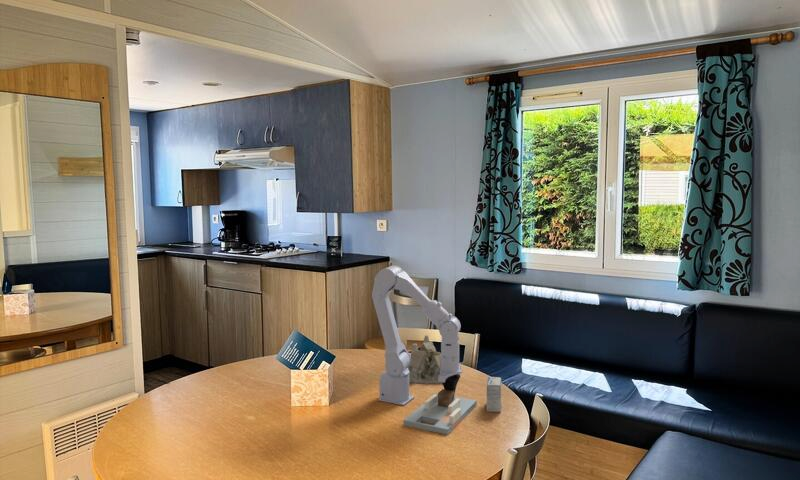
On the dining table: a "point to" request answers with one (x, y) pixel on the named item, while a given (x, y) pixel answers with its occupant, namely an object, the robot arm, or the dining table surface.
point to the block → (445, 397)
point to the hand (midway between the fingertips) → (450, 397)
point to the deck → (440, 414)
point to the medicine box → (494, 394)
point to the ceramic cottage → (424, 363)
